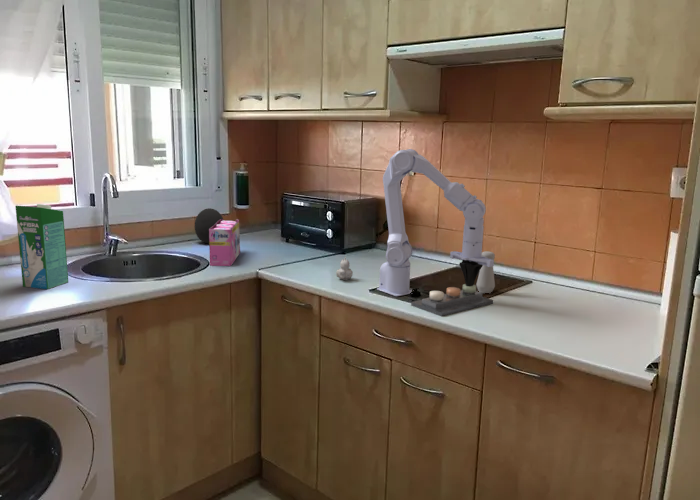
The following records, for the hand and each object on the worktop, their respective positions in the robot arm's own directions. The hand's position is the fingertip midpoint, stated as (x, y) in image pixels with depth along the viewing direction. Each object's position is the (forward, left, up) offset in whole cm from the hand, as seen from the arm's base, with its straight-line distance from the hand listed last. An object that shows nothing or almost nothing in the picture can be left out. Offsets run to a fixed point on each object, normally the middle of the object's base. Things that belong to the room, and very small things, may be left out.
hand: (469, 285), depth 175 cm
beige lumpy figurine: (-40, -17, -5) cm, 43 cm away
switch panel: (0, -7, -5) cm, 8 cm away
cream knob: (0, -14, -4) cm, 15 cm away
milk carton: (-85, -99, -5) cm, 130 cm away
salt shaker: (-4, +12, -5) cm, 13 cm away
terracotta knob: (0, -7, -4) cm, 8 cm away
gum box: (-88, -37, -5) cm, 96 cm away
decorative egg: (-119, -29, -5) cm, 122 cm away
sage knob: (0, 0, -4) cm, 4 cm away
